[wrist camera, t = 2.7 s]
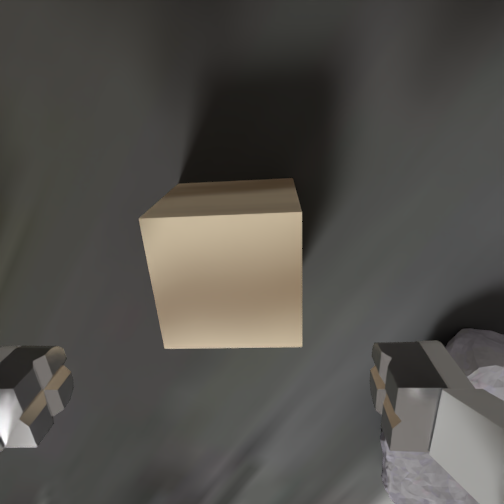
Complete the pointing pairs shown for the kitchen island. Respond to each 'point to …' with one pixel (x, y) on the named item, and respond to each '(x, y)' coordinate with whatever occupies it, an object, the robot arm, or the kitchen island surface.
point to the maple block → (227, 264)
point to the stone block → (421, 463)
